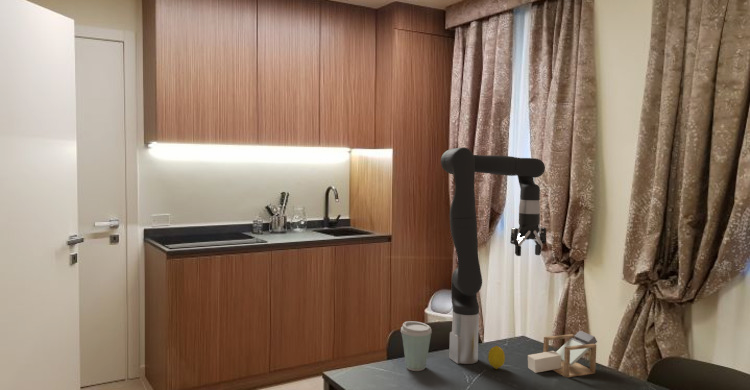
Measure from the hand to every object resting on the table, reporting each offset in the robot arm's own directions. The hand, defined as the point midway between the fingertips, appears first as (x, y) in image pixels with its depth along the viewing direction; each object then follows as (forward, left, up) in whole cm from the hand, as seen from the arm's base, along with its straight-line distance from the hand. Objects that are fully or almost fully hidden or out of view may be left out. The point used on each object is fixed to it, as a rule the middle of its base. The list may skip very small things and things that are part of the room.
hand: (528, 255), depth 200 cm
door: (+6, -21, -30) cm, 37 cm away
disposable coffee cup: (-47, -4, -36) cm, 60 cm away
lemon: (-21, -13, -36) cm, 44 cm away
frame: (+3, -20, -36) cm, 42 cm away
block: (0, -19, -33) cm, 38 cm away
